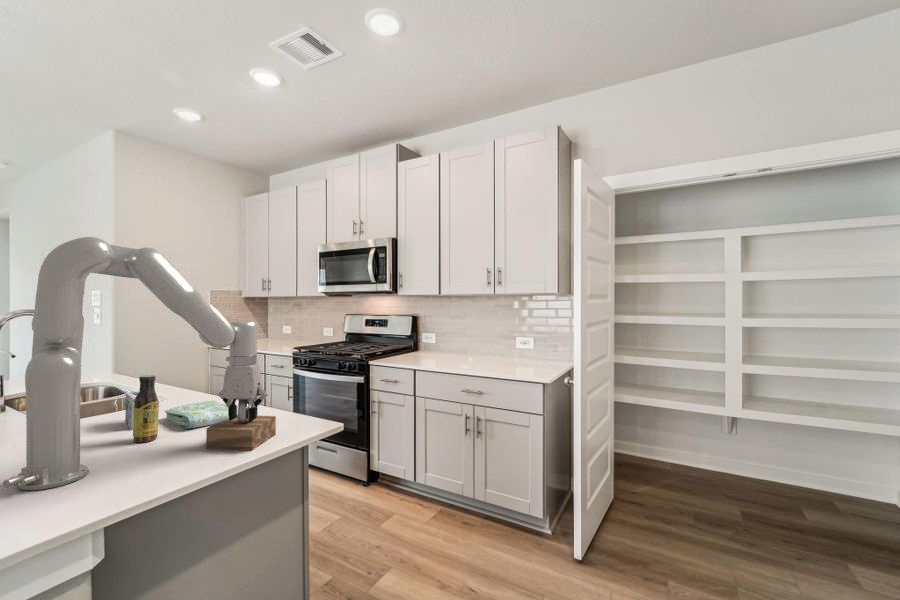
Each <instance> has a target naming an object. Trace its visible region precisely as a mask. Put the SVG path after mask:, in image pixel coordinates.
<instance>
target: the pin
mask: <svg viewBox="0 0 900 600" xmlns="http://www.w3.org/2000/svg"><path fill="white" fill-rule="evenodd" d="M249 408H251V405H250V402H249V399H238V405H237V409H238V424H247V423H249Z"/></svg>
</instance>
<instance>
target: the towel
mask: <svg viewBox="0 0 900 600" xmlns="http://www.w3.org/2000/svg"><path fill="white" fill-rule="evenodd" d="M164 413H166V419H165V421H167V422H168V423H170V424H173V425H175V426H176V427H178V428H181V429H184V430H189V429H190V430H191V429H196V428H202V427H208V426H212V425H214V424H217V423H219V422H221V421H223V420H225V419H227V418H229V416H228V407H227V406H226V403H222V402H219V401H216V400H215V401H214V400H205V401H200V402H194V403H188V404H182V405H179V406H175V407H173V408H172V407H171V408H169V409H166V410H165V411H164ZM237 415H238V408H237Z"/></svg>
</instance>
